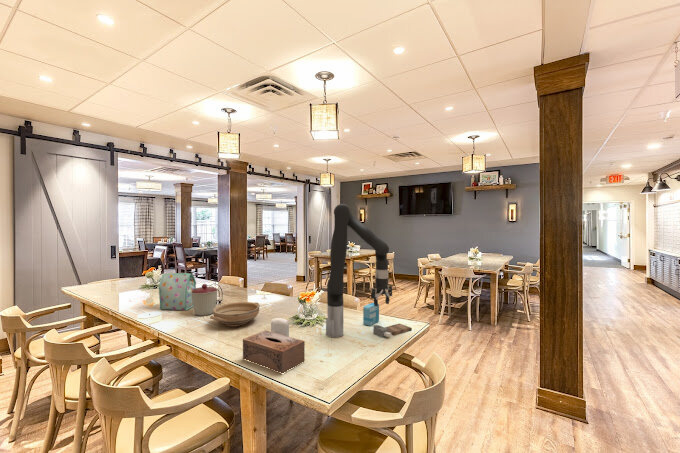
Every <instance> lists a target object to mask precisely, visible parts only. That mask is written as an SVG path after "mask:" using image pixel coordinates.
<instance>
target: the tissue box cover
mask: <svg viewBox="0 0 680 453" xmlns="http://www.w3.org/2000/svg"><path fill="white" fill-rule="evenodd" d="M305 342H306V341H305V340H303V339H300V338H295V337H292V336H290V335H289V336H285V335H281V334H278V333H274V332H271V330H262V331H260V332H258V333H254V334H252V335H250V336H248V337H245V338H243V339H242V360H243V359H246V360H249V361H251V362H254V363H257V364H259V365H262V366H265V367H268V368H270V369H273V370H275V371H278V372H281V373H284V372H286V371H287V370H289V369H291V368H293V367H294V368H296V367H298V366H299V365H298V364H300V363H301V364H303V363H305V362H306V361H305V360H306V359H305V355H306V354H305V353H306V352H305V345H306V344H305ZM304 361H305V362H304ZM251 362H250V363H251ZM302 362H303V363H302ZM301 364H300V365H301ZM259 365H258V366H259ZM297 365H298V366H297ZM262 366H261V367H262ZM295 366H296V367H295ZM294 368H293V369H294ZM270 369H269V370H270ZM273 370H272V371H273ZM291 370H292V369H291ZM275 371H274V372H275ZM289 371H290V370H289ZM278 372H277V373H278ZM281 373H280V374H281ZM286 373H287V372H286ZM284 374H285V373H284Z"/></svg>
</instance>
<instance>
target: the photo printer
mask: <svg viewBox="0 0 680 453" xmlns="http://www.w3.org/2000/svg"><path fill="white" fill-rule="evenodd" d="M270 332H274V333H278V334H281V335H285V336H289V337H290V322H289V320H288V319H285V318H282V317H281V318H280V317H276V318H272V319H271V321H270Z"/></svg>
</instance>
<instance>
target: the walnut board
mask: <svg viewBox="0 0 680 453" xmlns="http://www.w3.org/2000/svg"><path fill="white" fill-rule="evenodd" d="M384 327H385V328H387V329H389V332H390V333H391V336H394V337H395V336H397V335H402V334H405V333H409V332H411V331H412V330H413V328H412V327H411V326H407V325H405V324H402V323H397V324H392V325H389V326H384Z"/></svg>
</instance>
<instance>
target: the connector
mask: <svg viewBox="0 0 680 453" xmlns="http://www.w3.org/2000/svg"><path fill="white" fill-rule="evenodd" d="M372 326H373V327H372V328H373V332H372V333H373V335H375V336H378V337H380V338H387V337H391V336H392V335H391V333H390V332H389V329H387V328H385V327H386V326H382V325H378V324H373V325H372Z"/></svg>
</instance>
